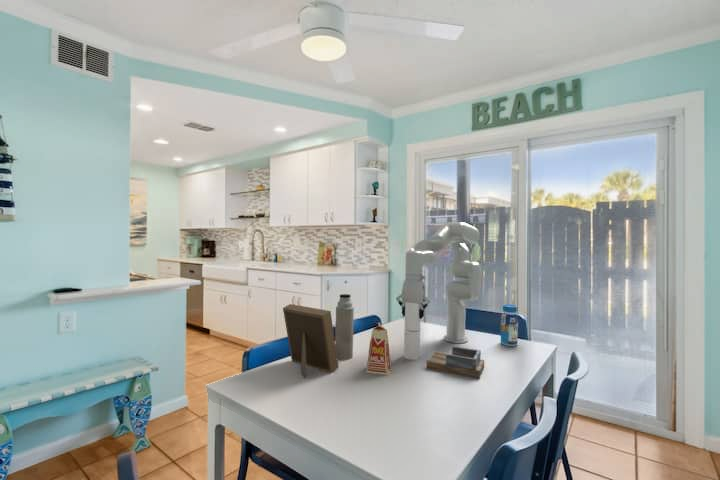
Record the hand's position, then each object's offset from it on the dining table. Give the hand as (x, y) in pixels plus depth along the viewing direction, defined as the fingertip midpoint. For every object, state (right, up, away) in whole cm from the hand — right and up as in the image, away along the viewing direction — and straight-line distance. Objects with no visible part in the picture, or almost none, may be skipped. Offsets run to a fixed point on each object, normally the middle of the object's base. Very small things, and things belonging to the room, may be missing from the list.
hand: (412, 316), depth 163 cm
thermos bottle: (-31, -18, -1) cm, 36 cm away
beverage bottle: (+54, -19, +24) cm, 62 cm away
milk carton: (-16, -18, -16) cm, 30 cm away
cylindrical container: (0, -18, 0) cm, 18 cm away
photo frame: (-46, -18, -18) cm, 52 cm away
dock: (+16, -19, -12) cm, 28 cm away
